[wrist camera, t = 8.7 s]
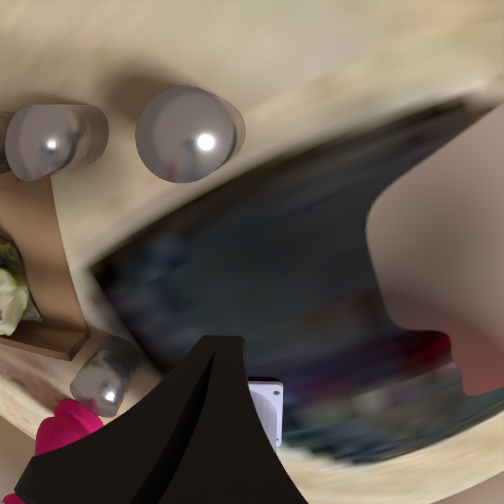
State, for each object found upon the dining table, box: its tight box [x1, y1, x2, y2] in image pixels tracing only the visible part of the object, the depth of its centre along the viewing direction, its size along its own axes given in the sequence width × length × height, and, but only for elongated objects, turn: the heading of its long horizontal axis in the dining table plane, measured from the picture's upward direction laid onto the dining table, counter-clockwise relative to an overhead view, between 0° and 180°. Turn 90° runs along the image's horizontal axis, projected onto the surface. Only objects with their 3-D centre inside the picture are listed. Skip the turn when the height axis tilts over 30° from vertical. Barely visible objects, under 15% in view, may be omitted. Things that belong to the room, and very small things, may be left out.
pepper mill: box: [2, 399, 104, 504], centre depth 20 cm, size 7×7×20 cm
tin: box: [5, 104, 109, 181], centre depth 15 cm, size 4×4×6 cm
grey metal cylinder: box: [135, 86, 245, 183], centre depth 14 cm, size 4×4×6 cm
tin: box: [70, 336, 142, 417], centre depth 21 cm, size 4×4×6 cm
